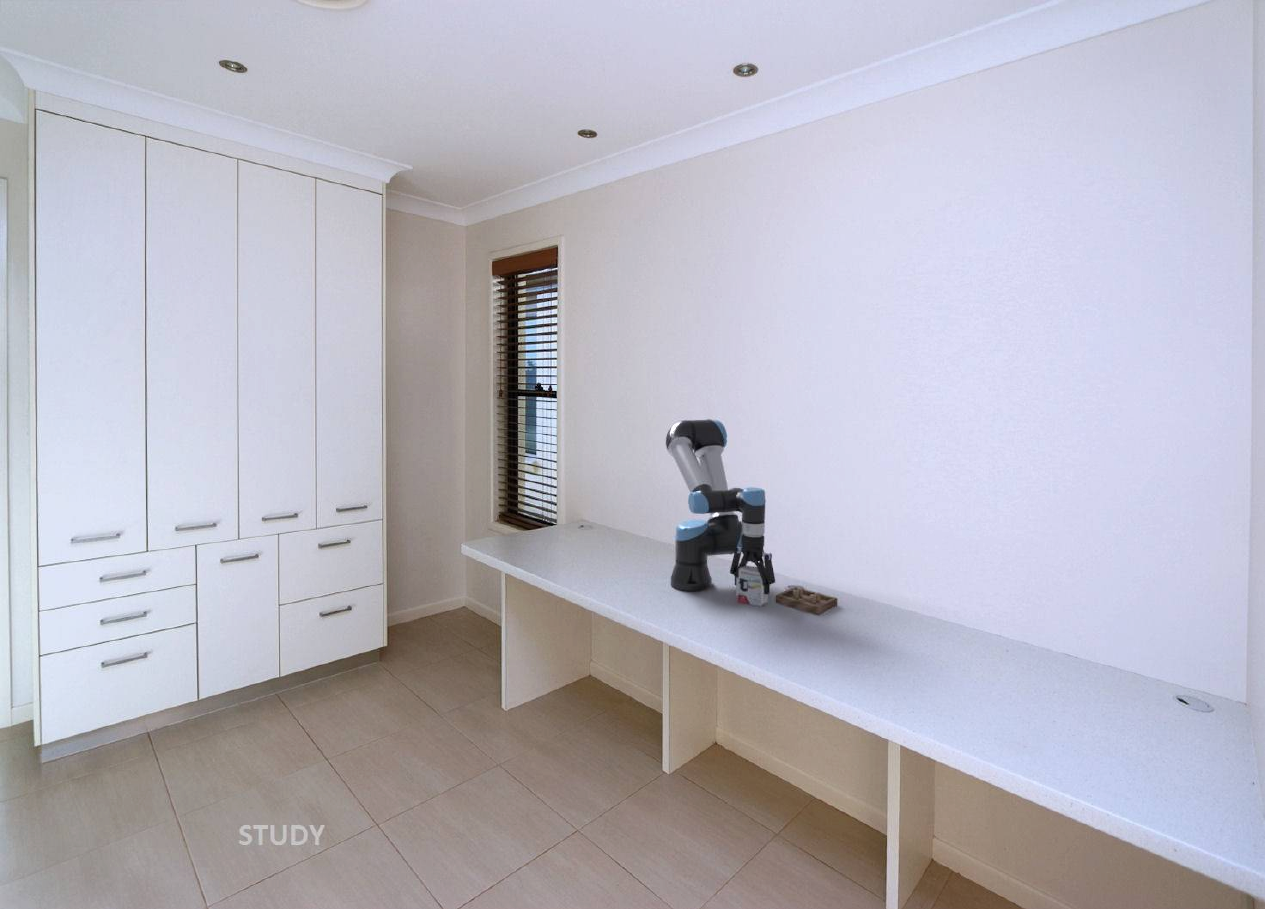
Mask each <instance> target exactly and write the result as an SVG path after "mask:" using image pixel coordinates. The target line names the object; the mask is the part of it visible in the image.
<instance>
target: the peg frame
mask: <svg viewBox="0 0 1265 909" xmlns="http://www.w3.org/2000/svg"><path fill="white" fill-rule="evenodd" d="M775 603H777V604H780V605H783V606H787V607H791V608H794V609H797V610H800V611H803V612H806V613H809V614H810V613H811V614H813V615H816V616H820V615H822V614H824V613H826V612H828V611H830V610H832V609H834V608H835V607H837V606H838V597H836V596H832V595H827V594H824V593H820V592H819V591H818V592H816V591H812V590H809V589H804V588H803V587H798V586H794V587H790V588H789V589H786V590H784V591H782V592H779V593H778V594H776V595H775Z"/></svg>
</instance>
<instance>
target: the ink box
mask: <svg viewBox="0 0 1265 909" xmlns="http://www.w3.org/2000/svg"><path fill="white" fill-rule="evenodd" d="M762 584H763V581H762V579H761V576H760V573H759V571H758V568H757V566H755V565H753V566H752V565H748V564H746V566H743V567H740V568H739V577H738V596H737V602H738V603H742V604H746V605H752V606H759V607H762V606H763V605H764V604H761V585H762Z"/></svg>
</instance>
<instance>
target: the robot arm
mask: <svg viewBox="0 0 1265 909" xmlns="http://www.w3.org/2000/svg"><path fill="white" fill-rule="evenodd" d="M665 436H666V438H665V446H666V447H665V448H666V450H667V452H668V453H669V455H670V456H671V457H673V459H674V460H675V463H676V465H677V467H678V470H679V471H680V473H681V475H682V478H683V480H684V482H685V485H686V486H687V489H688V490H689V495H688V498H687V504H688V509H689V511H690V512H691V513H692V514H693V515H694V514H700V515H701V514H702V515H705V514H709V517H708V519H707V520H704V519H689V520H685V521H683V522H680V523H679V524H678V525H677V526H676V528H675V536H674V539H675V554H674V555H675V561H674V562H675V563H674V567H673V570H672V574H671V577H670V586H671V587H673V588H674V589H677V590H680V591H685V592H687V591H688V592H698V591H699V592H701V591H705V590H708V589H710V588H711V587H712V586H713V583H712V582H713V580H712V576H711V573H710V570H709V566H708V556H709V557H710V556H711V557H712V556H723V555H733V558H732V561H731V566H730V570H729V574H731V575H733V576H734V585H735V587H736V591H735V597H738V577H739V568H740V567H743V566H746V565H748V562H751V563H753V564H754V566H755V567H757V568H758V571H759V573H760V576H761V579H762V581H763V584H762V585H761V604H763V605H764V604H766V603H768V596H769V595H768V594H770V590H771V589H770V586H771V585H773V584H775V583H776V578H775V573H774V566H773V561H772V558H773V554H772V553H771V552H770V553H768V552H765V550H764V547H765V529H766V528H765V527H766V526H765V525H766V524H765V523H766V522H765V520H766V517H765V516H766V502H767V501H766V492H765V489H763V488H759V487H745V488H744V489H743V488H740V487H731V488H729V487H728V483H727V479H726V478H727V477H726V472H725V469H724V462H723V458H722V453H723V452H724V451H725V447H726V446H727V443H728V439H727V438H728V434H727V430H726V427H725V426H724V424H723V423H722V422H721V421H720V420H717V419H709V418H708V419H699V420H698V419H694V420H693V419H692V420H691V419H690V420H688V419H687V420H686V419H685V420H680V421H678V422H676V423H674V424H673V425H672V426H671V427H670V428H669V430H668V431H667V433H666V435H665ZM698 459H699V460H698ZM735 512H740V513H741V520H739V516H738V514H736V513H735ZM741 556H742V557H741Z"/></svg>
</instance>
